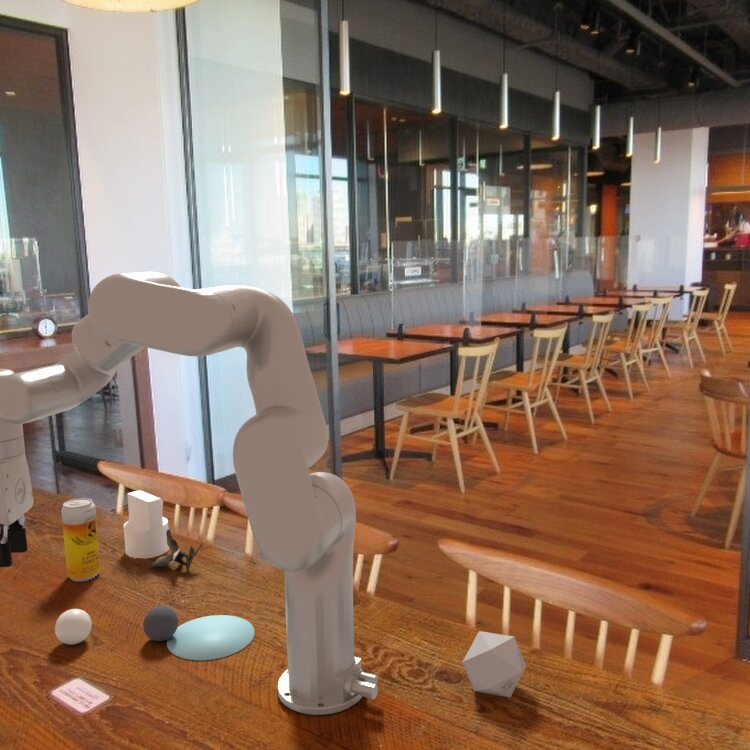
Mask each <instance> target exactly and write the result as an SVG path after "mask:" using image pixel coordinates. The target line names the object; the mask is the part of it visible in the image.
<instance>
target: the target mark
mask: <svg viewBox="0 0 750 750" xmlns="http://www.w3.org/2000/svg"><path fill="white" fill-rule="evenodd" d="M255 634H256V633H255V628H254V626H253V624H252V623H251V622H250V621H248V620H246V619H244V618H242V617H239V616H235V615H228V614H226V615H225V614H215V615H208V616H202V617H198V618H194V619H191V620H189V621H186V622H184V623H182V624H180V625H178V627H177V630H176V632H175V633H174V635H173V636H172V637H170V638H169V639H167V640H166V647H167V649H168V651H169V652H170V653H171V654H172V655H174V656H176V657H178V658H181V659H184V660H189V661H211V660H212V661H213V660H218V659H222V658H225V657H229V656H232V655H234V654H236V653H238V652H240V651H242V650H244V649H245V648H246V647H247V646H249V645H250V643H252V641H253V640H254V638H255Z"/></svg>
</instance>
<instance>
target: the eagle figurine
mask: <svg viewBox="0 0 750 750" xmlns="http://www.w3.org/2000/svg"><path fill="white" fill-rule="evenodd" d="M166 534H167V535H166V536H167V545H168V547H169V550H171V553H170V554H168V555H164V556H163V555H162V556H160V557H159V558H157V559H156V560H155V561H154V562H153V563H152V564H150V566H149V569H153V568H155V567H161V568H163V567H166V566H168V565H169V564H170V563H171V565H173V564H174V563H178V564H179V565H182V566H184V567H185V570H186V572H187V573H189V572H190V567H191V565H192V563H193V561H194V558H195V557H196V555H197V554H198V552H199V551H200V550H201V548H202V546H203V542H201V543H200V544H199V545H198V547H197V548H196V549H195V548H194V547H193V546H192V545H191V546H190V548H189V553H185V552H182V551H181V550H180V549H181V548H180V547H179V544H178V541H176V539H174V538H173V535H172V531H171V529H170V528H169V529H168V530H167V532H166ZM184 558H185V559H186V561H184Z"/></svg>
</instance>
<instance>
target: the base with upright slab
mask: <svg viewBox="0 0 750 750" xmlns="http://www.w3.org/2000/svg"><path fill="white" fill-rule="evenodd" d="M126 495H127V496H126V497H127V505H128V506H127V508H128V521H125V522H124V523H123V536H124V548H125V555H126V556H127V555H128V556H130V557H129V558H131V557H133V558H132V559H136V558H142V559H143V558H144V559H151V558H155V557H159V556H161V555H162V556H163V555H164V554H166V553H167V552H168V551H169V550H170V548H169V547H168V545H167V536H166V535H167V534H166V532H167V530H168V529H169V530H170V528H169V520H168V518H166V517H165V516H163V507H162V497H158V496H155V495H153V494H151V493H148V492H147V491H143V490H141V489H139V490H134V491H131V492H128V493H127V494H126ZM128 556H127V557H128Z"/></svg>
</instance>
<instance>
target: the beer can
mask: <svg viewBox="0 0 750 750" xmlns="http://www.w3.org/2000/svg"><path fill="white" fill-rule="evenodd" d="M96 511H97V510H96V505H95V503H94V502H93V499H92V498H89V497H88V498H87V497H82V498H79V497H78V498H74V499H73V498H72V499H69V500H67V501H65V502H64V503H63V504H62V508H61V522H62V532H63V543H64V545H63V546H64V553H65V564H66V565H65V566H66V575H67V577H68V578H69V579H70V580H71V581H73V582H85V581H89V579H90V580H92V578H93V579H95V578H96V577H97V576H98V575H97V574H99V572H101V561H100V559H101V558H100V549H99V538H98V537H99V536H98V524H97V512H96ZM95 576H96V577H95Z"/></svg>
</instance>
